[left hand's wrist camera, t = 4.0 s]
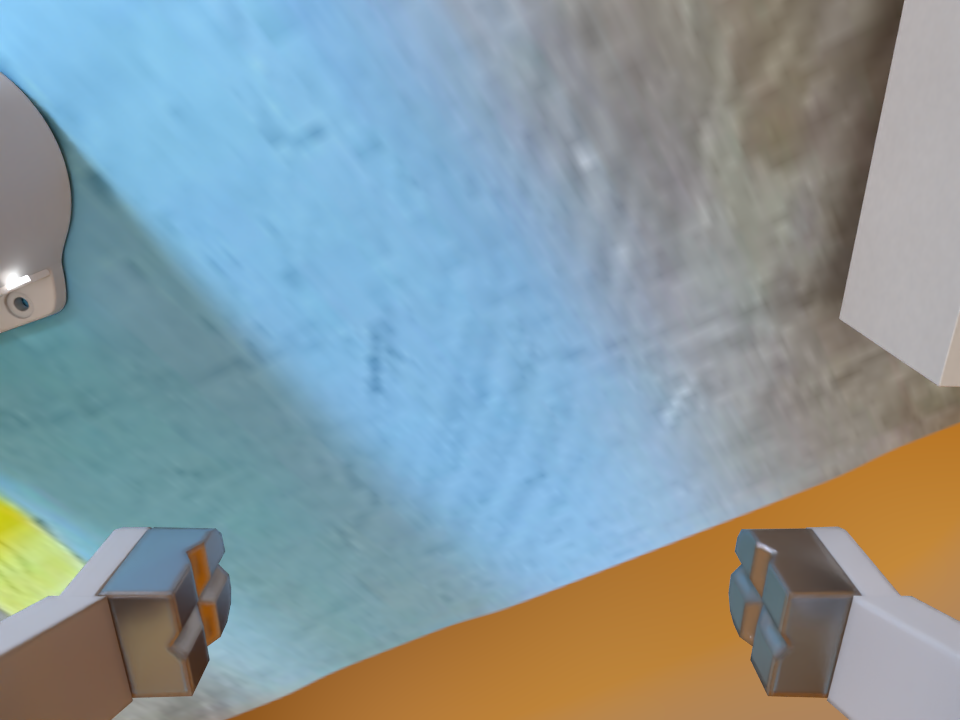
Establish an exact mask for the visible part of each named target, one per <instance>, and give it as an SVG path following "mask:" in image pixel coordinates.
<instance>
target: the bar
mask: <svg viewBox="0 0 960 720" xmlns="http://www.w3.org/2000/svg"><path fill="white" fill-rule="evenodd" d="M839 319H840V320H842V321H843V322H845V323H846V324H848V325H849V326H851V327H852V328H853V329H855V330H856V331H858V332H859V333H861V334H862V335H864V336H865V337H867V338H868V339H870V340H871V341H873V342H874V343H876V344H877V345H879V346H880V347H882V348H883V349H884V350H886V351H887V352H889V353H890V354H892V355H893V356H895V357H896V358H898V359H899V360H901V361H902V362H904V363H905V364H907V365H908V366H910V367H911V368H912V369H914V370H915V371H917V372H918V373H920V374H921V375H923V376H924V377H926V378H927V379H929V380H930V381H932V382H933V383H935V384H936V385H938V386H949V387H960V0H904V5H903V10H902V15H901V20H900V25H899V30H898V34H897V39H896V44H895V49H894V54H893V59H892V64H891V68H890V73H889V78H888V83H887V88H886V93H885V98H884V103H883V107H882V112H881V117H880V122H879V127H878V132H877V137H876V142H875V146H874V151H873V156H872V161H871V166H870V171H869V176H868V181H867V185H866V190H865V195H864V200H863V205H862V210H861V215H860V220H859V224H858V229H857V234H856V239H855V244H854V249H853V254H852V258H851V263H850V268H849V273H848V278H847V283H846V288H845V293H844V297H843V302H842V307H841V312H840V317H839Z"/></svg>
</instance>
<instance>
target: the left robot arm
mask: <svg viewBox="0 0 960 720" xmlns="http://www.w3.org/2000/svg"><path fill="white" fill-rule="evenodd" d="M70 218H71V189H70V182H69V177H68V172H67V168H66V165H65V162H64V159H63V156H62V153H61V151H60V148H59V146H58V143H57V141H56V139H55V137H54V135H53V133H52V132H51V130H50V128H49V126H48V125H47V123H46V121H45V120H44V118H43V117H42V115H41V114H40V113H39V111H38V110H37V108H36V107H35V106H34V105H33V103H32V102H31V101H30V100H29V99H28V97H27V96H26V95H25V94H24V93H23V92H22V91H21V90H20V89H19V88H18V87H17V86H16V85H15V84H14V83H13V82H12V81H11V80H10V79H8V78H7V77H6V76H5V75H4V74H2V73H1V72H0V333H2V332H5V331H8V330H11V329H14V328H17V327H19V326H22V325H25V324H28V323H31V322H34V321H36V320H39V319H42V318H45V317H48V316H51V315H53V314H56V313H58V312H59V311H61V310H62V309H63V308H64V306H65V303H66V284H65V278H64V272H63V267H62V262H61V261H62V253H63V247H64V244H65V240H66V237H67V233H68V229H69V224H70ZM21 298H24V299H25V300H26V301H27V302H28V305H29V307H26V306H25V305H24V304H23V303H22V301H21ZM224 552H225V548H224V544H223V539H222V534H221V533H220V532H219V531H218V530H217V529H212V528H166V527H154V528H150V527H122V528H119V529H116V530H114V531H113V532H112V533H111V534H110V536H109V537H108V538H107V539H106V540H105V542H104V543H103V544H102V545H101V546H100V548H99V549H98V550H97V551H96V552H95V554H94V555H93V556H92V557H91V558H90V560H89V561H88V562H87V563H86V564H85V566H84V567H83V568H82V569H81V570H80V572H79V573H78V574H77V575H76V576H75V577H74V579H73V580H72V581H71V582H70V583H69V585H68V586H67V587H66V588H65V589H64V591H63V592H62V593H61V594H60V595H59V596H48V597H46V598H44V599H42V600H40V601H38V602H36V603H34V604H33V605H31V606H29V607H27V608H25V609H23V610H21V611H19V612H17V613H15V614H13V615H12V616H10V617H8V618H6V619H4V620H2V621H0V720H111V719H112V718H114V717H115V716H116V715H117V714H118V713H119V712H120V711H122V710H123V709H124V708H125V707H126V706H127V705H129V704H130V703H131V702H132V701H133V699H132V698H140V697H175V696H192V695H193V693H194V691H195V689H196V687H197V685H198V683H199V681H200V679H201V676H202V674H203V672H204V670H205V668H206V666H207V664H208V662H209V654H208V649H207V646H208V645H210V644H211V643H213V642H214V641H215V640H217V639H218V638H219V637H221V634H222V632H223V630H224V628H225V625H226V623H227V619H228V615H229V610H230V605H231V585H230V578H229V574H228V573H227V572H226V571H225V570H224V569H223V568H222V567H221V566H220V565H219V564H218V563H219V562H220V560H221V558H222V556H223V554H224ZM735 552H736V554H737V556H738V558H739V560H740V562H741V563H742V564H741V565H740V566H739V567H738V568H737V569H736V570H735V571H734V572H733V573H732V574H731V579H730V586H729V603H730V612H731V615H732V619H733V623H734V625H735V628H736V630H737V632H738V634H739V637H741V638H742V639H743V640H745V641H746V642H747V643H749V644H750V645H752V646H753V649H752V654H751V662H752V664H753V666H754V668H755V670H756V672H757V674H758V676H759V678H760V681H761V683H762V685H763V687H764V689H765V691H766V693H767V695H768V696H784V697H820V698H828V699H827V701H828V702H830V703H831V704H832V705H833V706H834V707H835V708H836V709H838V710H839V711H840V712H841V713H842V714H843V715H844V716H846V717H847V718H848V719H849V720H960V621H958V620H956V619H954V618H952V617H950V616H948V615H946V614H945V613H943V612H941V611H939V610H937V609H935V608H933V607H931V606H929V605H927V604H925V603H924V602H922V601H920V600H918V599H916V598H914V597H912V596H901V595H900V594H899V593H898V592H897V591H896V589H895V588H894V587H893V586H892V585H891V584H890V582H889V581H888V580H887V579H886V578H885V576H884V575H883V574H882V573H881V572H880V570H879V569H878V568H877V567H876V566H875V564H874V563H873V562H872V561H871V560H870V558H869V557H868V556H867V555H866V554H865V552H864V551H863V550H862V549H861V548H860V547H859V545H858V544H857V543H856V542H855V541H854V539H853V538H852V537H851V536H850V535H849V533H848V532H847V531H846V530H844V529H842V528H840V527H815V528H806V529H742V530H741V532H740V534H739V535H738V537H737V543H736V548H735Z"/></svg>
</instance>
